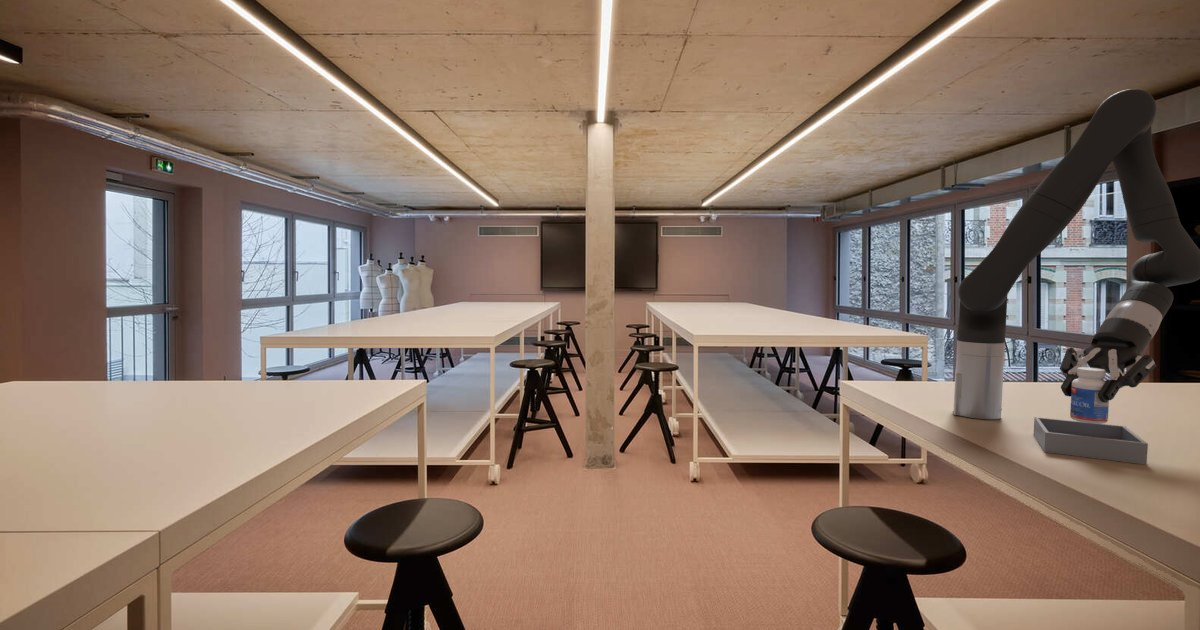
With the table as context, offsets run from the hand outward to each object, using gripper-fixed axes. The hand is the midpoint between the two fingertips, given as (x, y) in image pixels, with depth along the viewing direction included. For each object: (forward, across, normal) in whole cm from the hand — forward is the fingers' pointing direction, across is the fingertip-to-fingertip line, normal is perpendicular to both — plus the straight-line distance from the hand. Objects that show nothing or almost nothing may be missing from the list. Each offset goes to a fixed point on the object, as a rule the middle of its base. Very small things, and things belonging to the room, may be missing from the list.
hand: (1083, 396), depth 108 cm
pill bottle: (+2, 0, +5) cm, 5 cm away
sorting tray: (+6, 0, +8) cm, 10 cm away
